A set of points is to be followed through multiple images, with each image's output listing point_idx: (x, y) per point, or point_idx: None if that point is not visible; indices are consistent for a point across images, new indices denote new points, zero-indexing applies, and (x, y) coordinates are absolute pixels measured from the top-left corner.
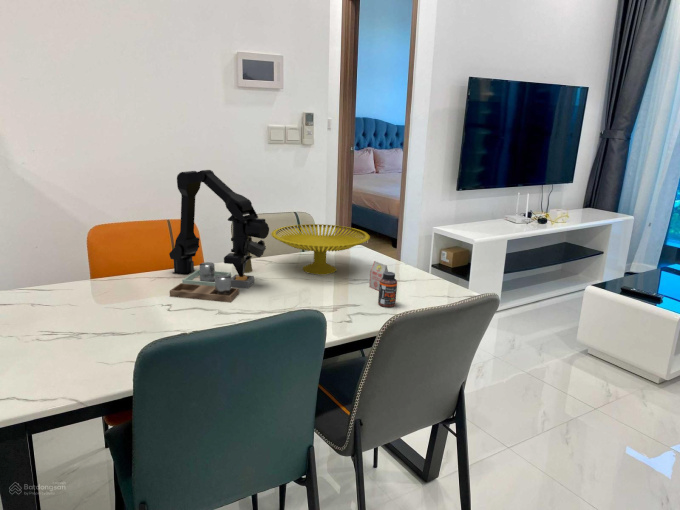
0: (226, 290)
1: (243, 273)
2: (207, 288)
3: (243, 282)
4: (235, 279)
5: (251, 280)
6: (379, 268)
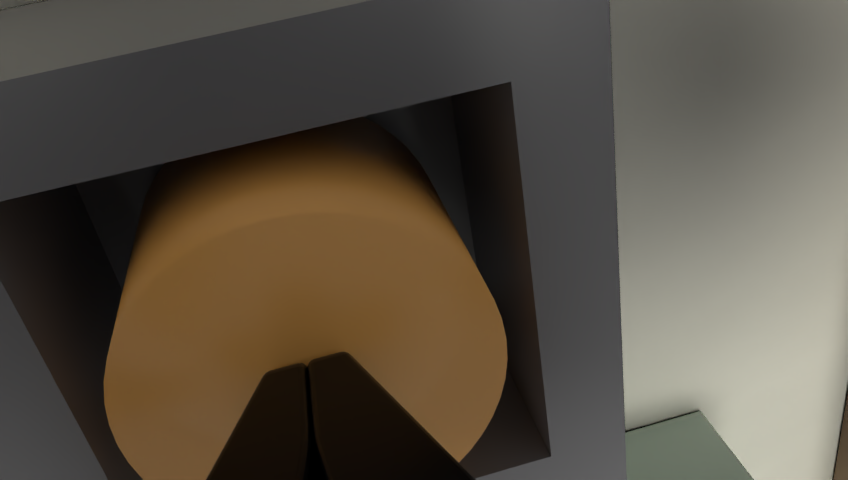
0: None
1: (287, 424)
2: None
3: (600, 97)
4: None
5: (145, 26)
6: None
